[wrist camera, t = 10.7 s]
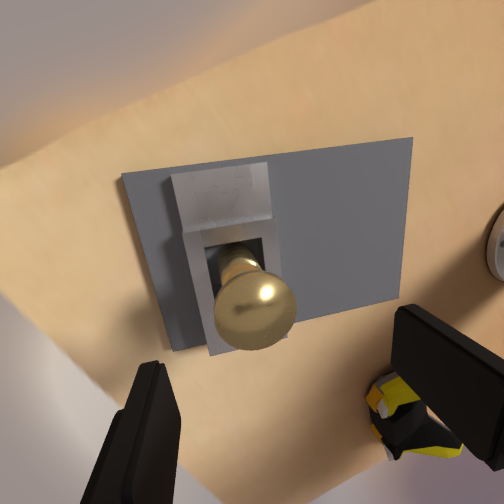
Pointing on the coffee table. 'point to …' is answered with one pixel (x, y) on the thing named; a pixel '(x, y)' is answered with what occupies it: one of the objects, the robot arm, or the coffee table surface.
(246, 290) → the pin
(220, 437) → the coffee table surface
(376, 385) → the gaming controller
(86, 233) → the coffee table surface
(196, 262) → the grey slotted housing block
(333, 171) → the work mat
